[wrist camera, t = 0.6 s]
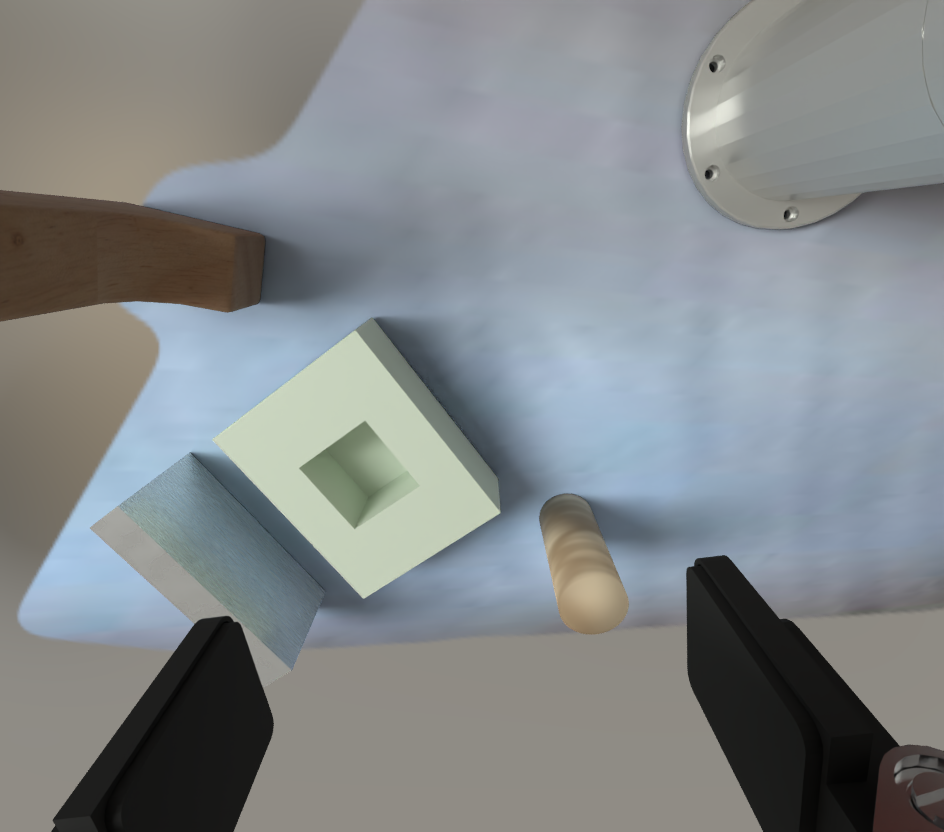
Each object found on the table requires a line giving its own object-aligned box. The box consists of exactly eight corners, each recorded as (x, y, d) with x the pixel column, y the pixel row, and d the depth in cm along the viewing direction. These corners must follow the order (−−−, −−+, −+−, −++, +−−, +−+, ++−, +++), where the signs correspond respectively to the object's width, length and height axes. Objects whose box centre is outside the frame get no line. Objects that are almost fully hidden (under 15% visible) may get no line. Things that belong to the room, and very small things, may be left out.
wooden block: (268, 234, 33) (40, 232, 16) (262, 305, 34) (47, 372, 17) (123, 201, 32) (-276, 161, 15) (123, 274, 34) (-241, 312, 17)
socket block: (371, 317, 34) (355, 329, 29) (498, 478, 38) (500, 512, 33) (246, 413, 36) (212, 439, 32) (377, 556, 40) (363, 598, 35)
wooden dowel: (574, 484, 38) (605, 565, 29) (602, 522, 39) (641, 613, 30) (528, 512, 39) (545, 599, 30) (557, 548, 40) (582, 645, 31)
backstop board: (189, 452, 38) (117, 506, 30) (325, 591, 42) (291, 670, 34) (166, 470, 38) (89, 528, 31) (302, 606, 42) (264, 687, 34)
